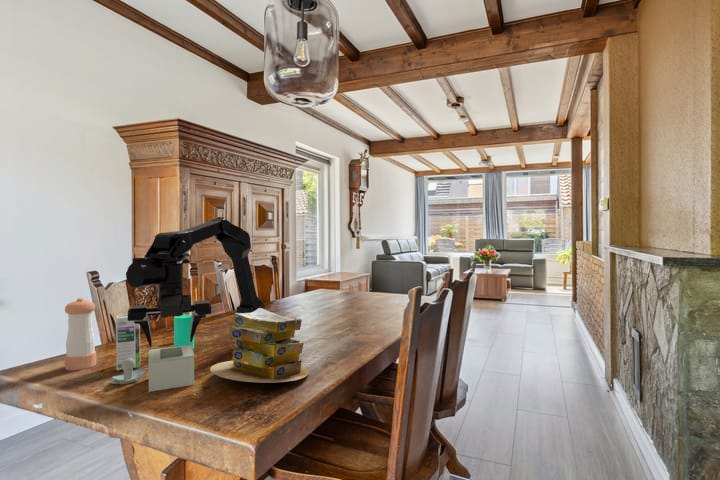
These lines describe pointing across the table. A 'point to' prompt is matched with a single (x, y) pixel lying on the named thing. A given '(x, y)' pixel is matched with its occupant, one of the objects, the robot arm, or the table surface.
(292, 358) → the stacked boxes on plate
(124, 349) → the syrup box
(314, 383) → the table surface
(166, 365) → the coin box
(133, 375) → the pacifier
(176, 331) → the candle
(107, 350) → the table surface
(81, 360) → the pepper shaker
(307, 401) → the table surface
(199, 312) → the robot arm
